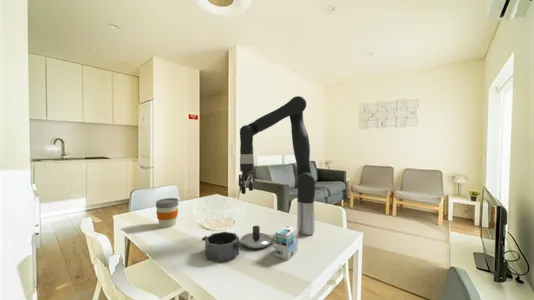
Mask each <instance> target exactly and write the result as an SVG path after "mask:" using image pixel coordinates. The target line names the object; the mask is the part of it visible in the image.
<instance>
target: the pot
mask: <svg viewBox="0 0 534 300" xmlns="http://www.w3.org/2000/svg"><path fill="white" fill-rule="evenodd" d="M201 241H202V242H203V241H204V243H205V244H204V245H205V246H204V247H205V248H204V249H205V250H204V251H205V252H204V253H205V254H204V255H205V257H206V260H207V261H210V262H215V263H217V264H218V263H219V264H220V263H224V262H229V261H233V260H234V259H235V258H237V256H238V255H239V254H240V248H242V247H243V243H241V241H240V237H239V236H238V235H237V234H236V233H235V232H229V231H222V232H215V233H211V234H210V235H208V236H207V235H205V236H202V238H201Z"/></svg>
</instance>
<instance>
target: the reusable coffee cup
mask: <svg viewBox="0 0 534 300" xmlns="http://www.w3.org/2000/svg"><path fill="white" fill-rule="evenodd" d="M178 207H179V199H178V198H171V197H168V198H162V199H158V200H156V201H155V208H156V211H155V212H156V218H157V220H158V224H159V225H158V226H159V228H161V229H169V228H172V227H174V226H176V225H177V217H178V213H179V212H178V211H179V208H178Z"/></svg>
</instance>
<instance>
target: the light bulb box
mask: <svg viewBox="0 0 534 300" xmlns="http://www.w3.org/2000/svg"><path fill="white" fill-rule="evenodd" d="M274 234H275V235H274V239H275V241H274V242H275V243H274V247H275V248H274V250H275V252H274V254H275V255H274V256H275V257H277V258H281V259H283V260H287V261H289V260H291V258H292V257H293V256H294V255H296V253H297V252H298V251H299V233H298V228H297V227H295V226H291V225H284V226H283V227H281V228H279V229H278V230H276V231H275V233H274Z"/></svg>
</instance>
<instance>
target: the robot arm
mask: <svg viewBox="0 0 534 300" xmlns="http://www.w3.org/2000/svg"><path fill="white" fill-rule="evenodd" d="M306 108H307V100H306V98H304V97H303V96H300V95H296V96H294V97H292V98H290V100H289V101H288V102H286V103H285V104H283V105H282V106H280V107H278V108H277V109H274V110H273V111H270V112H269V113H267V114H264V115H262V116H260V117H259V118H256V119H255V120H254V121H251V122H250V123H249V124H246V125H243V126H241V128H240V129H239V139H240V140H239V143H240V144H239V145H240V147H239V152H240V153H239V155H240V156H239V171H240V172H241V174H238V187H240V190H241V192H240V193H241V194H242V195H245V194H246V193H247V192H246V186H247V184H248V191H251V192H252V191H253V190H254V183H255V182H256V177H255V176H256V175H255V173H256V172H255V164H254V163H255V158H254V143H253V141H254V136H256V135H257V134H258V133H260V132H261V133H262V132H264V131H265V130H268V129H269V128H271V127H272V126H275V125H276V124H277V123H278V122H280V121H283V120H284V119H286V118H288V117H289V119H290V128H291V140H292V148H293V150H292V151H293V154H294V158H295V162H296V172H297V173H296V181H297V197H296V198H297V200H296V201H297V202H296V203H297V205H296V206H297V207H296V208H297V213H296V216H297V217H296V218H297V219H296V220H297V221H296V222H297V224H296V226H297V227H296V228H298V234H300V235H303V236H310V235H311V236H314V233H315V231H316V230H315V229H316V228H315V226H316V225H315V223H316V222H315V221H316V220H315V219H316V215H315V197H316V194H315V193H316V181H315V177H314V176H313V174H312V170H311V165H310V157H311V156H310V155H311V153H310V152H311V147H310V145H311V144H310V138H309V134H308V131H307V129H306V126H305V124H304V123H305V121H304V112H305V109H306Z"/></svg>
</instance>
